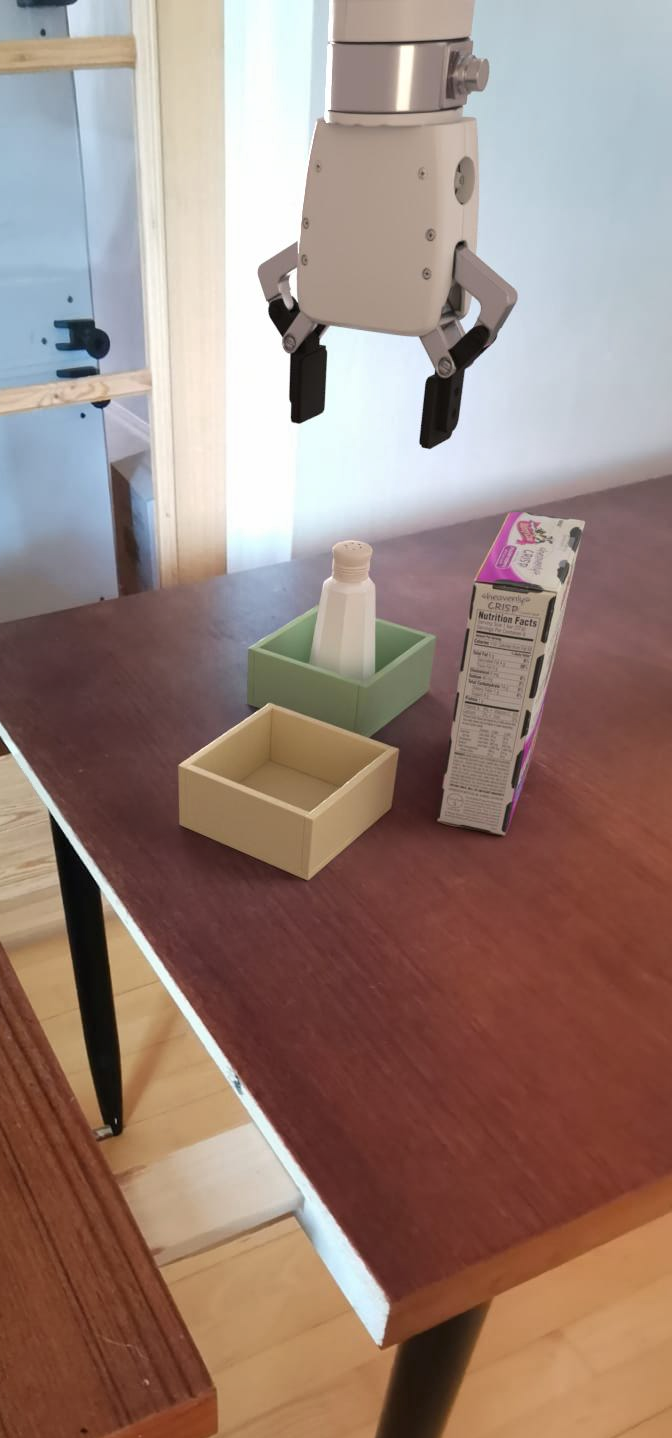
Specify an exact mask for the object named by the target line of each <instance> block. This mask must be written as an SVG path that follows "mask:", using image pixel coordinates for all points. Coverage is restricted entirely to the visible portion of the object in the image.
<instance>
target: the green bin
mask: <svg viewBox="0 0 672 1438" xmlns="http://www.w3.org/2000/svg"><path fill="white" fill-rule="evenodd" d="M318 609H319V604H317V605H315V606H314V607H313V608H310V609H309V610H307V611H306V612H305V613H303V614H301V615H300V616H297V617H296V618H295V619H293V620H291V621H290V622H288V623H286V624H284V625H283V626H282V627H280V628H278V629H277V630H275V631H274V632H272V633H270V634H269V635H267V636H266V637H264V638H262V639H260V640H259V641H258V642H256V643H254V644H253V645H251V646H249V647H248V648H247V676H246V677H247V679H246V704H247V705H249V706H252V707H255V708H257V709H259V710H260V709H262V708H263V707H265V706H266V705H267V704H269V703H272V704H274V705H276V706H280V707H283V708H286V709H288V710H291V711H294V712H297V713H300V714H303V715H305V716H308V717H311V718H314V719H317V720H319V721H322V722H325V723H328V724H331V725H333V726H336V727H339V728H342V729H345V730H347V731H350V732H353V733H356V734H359V735H361V736H364V737H367V738H371V737H372V736H373V735H374V734H376V733H377V732H378V731H380V730H382V728H384V727H385V726H386V725H387V724H388V723H390V722H391V721H392V720H394V719H395V718H396V717H398V716H399V715H401V713H403V712H404V711H406V709H408V708H409V707H411V706H412V705H413V704H414V703H415V702H417V701H418V700H419V699H420V698H422V697H423V696H424V695H426V694H427V693H428V692H429V690H430V683H431V676H432V669H433V665H434V664H433V663H434V656H435V650H436V643H437V635H434V634H430V633H428V632H424V631H421V630H418V629H414V628H411V627H407V626H404V625H401V624H398V623H394V622H391V621H389V620H384V619H381V618H378V617H375V675H373V676H372V677H371V678H369V679H368V680H366V681H365V682H364V683H363V682H361V681H358V680H355V679H352V678H349V677H346V676H343V675H340V674H337V673H334V672H331V671H328V670H325V669H322V668H319V667H316V666H312V665H309V659H310V654H311V648H312V642H313V637H314V631H315V626H316V620H317V615H318Z"/></svg>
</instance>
